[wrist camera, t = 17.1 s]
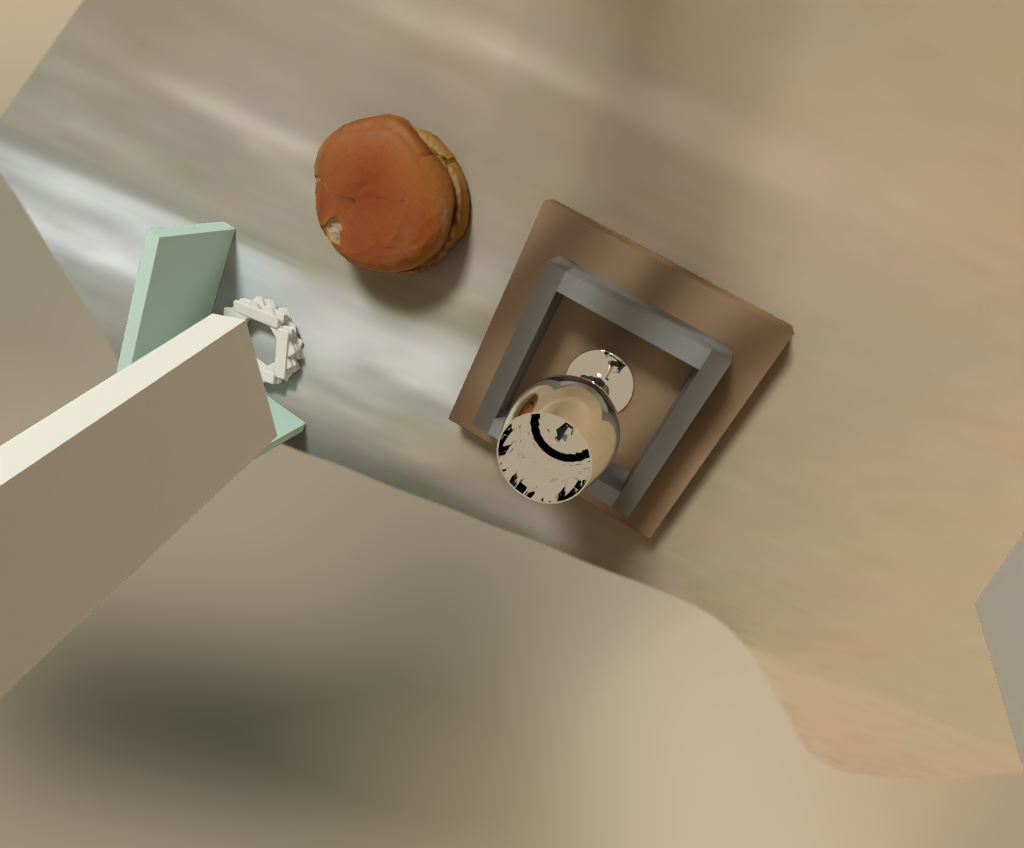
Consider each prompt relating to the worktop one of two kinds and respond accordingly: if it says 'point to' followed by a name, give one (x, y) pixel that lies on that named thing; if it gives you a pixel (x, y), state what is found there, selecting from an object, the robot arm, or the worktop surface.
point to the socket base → (623, 354)
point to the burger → (390, 195)
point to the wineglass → (566, 428)
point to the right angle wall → (202, 305)
